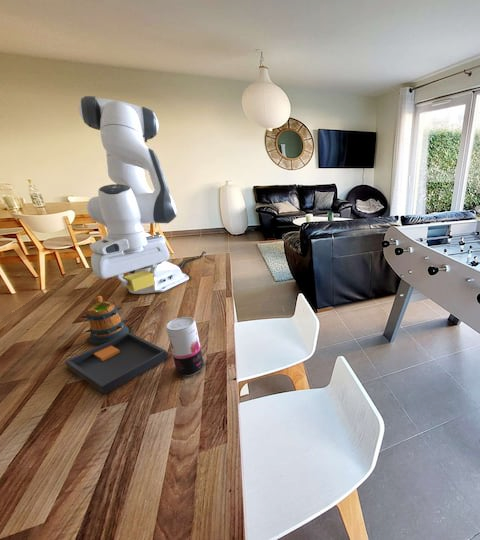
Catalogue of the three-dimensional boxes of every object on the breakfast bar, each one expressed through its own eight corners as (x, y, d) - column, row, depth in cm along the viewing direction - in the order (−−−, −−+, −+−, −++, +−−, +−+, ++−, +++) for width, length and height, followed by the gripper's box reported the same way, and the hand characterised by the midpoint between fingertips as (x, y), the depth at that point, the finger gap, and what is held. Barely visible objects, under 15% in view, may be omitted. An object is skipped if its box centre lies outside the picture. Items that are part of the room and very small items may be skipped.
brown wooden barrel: (132, 336, 92) (123, 305, 88) (90, 349, 85) (77, 316, 81) (126, 319, 100) (117, 290, 96) (87, 330, 94) (75, 299, 89)
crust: (112, 347, 86) (111, 345, 85) (120, 352, 84) (119, 349, 84) (94, 356, 82) (93, 353, 82) (102, 361, 80) (101, 358, 80)
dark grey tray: (131, 338, 91) (129, 332, 90) (168, 357, 84) (166, 350, 83) (67, 368, 78) (64, 361, 77) (104, 394, 71) (101, 386, 70)
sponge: (147, 281, 97) (144, 270, 95) (155, 284, 95) (152, 273, 94) (126, 288, 92) (123, 276, 90) (134, 291, 90) (131, 280, 88)
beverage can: (207, 369, 80) (198, 323, 74) (181, 381, 76) (169, 333, 70) (199, 357, 84) (190, 313, 79) (174, 368, 80) (162, 322, 74)
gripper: (157, 231, 97) (166, 269, 103) (82, 246, 80) (97, 290, 86) (169, 234, 95) (177, 272, 100) (94, 251, 78) (108, 295, 83)
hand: (139, 281), depth 93 cm, fingers closed on sponge, 6 cm apart
